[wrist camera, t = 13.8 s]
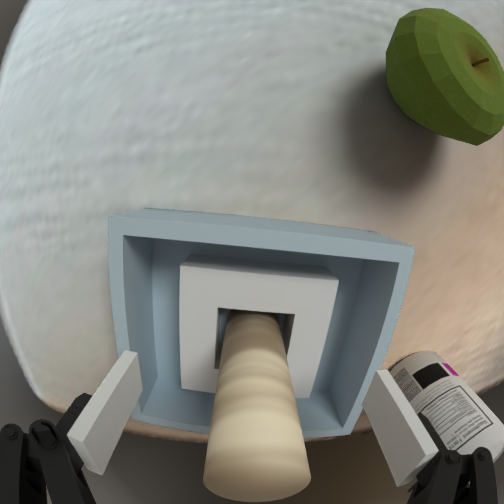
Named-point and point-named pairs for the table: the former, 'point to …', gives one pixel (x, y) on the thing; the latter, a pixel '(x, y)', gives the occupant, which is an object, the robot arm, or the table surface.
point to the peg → (255, 416)
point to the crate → (252, 308)
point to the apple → (446, 76)
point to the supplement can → (448, 404)
